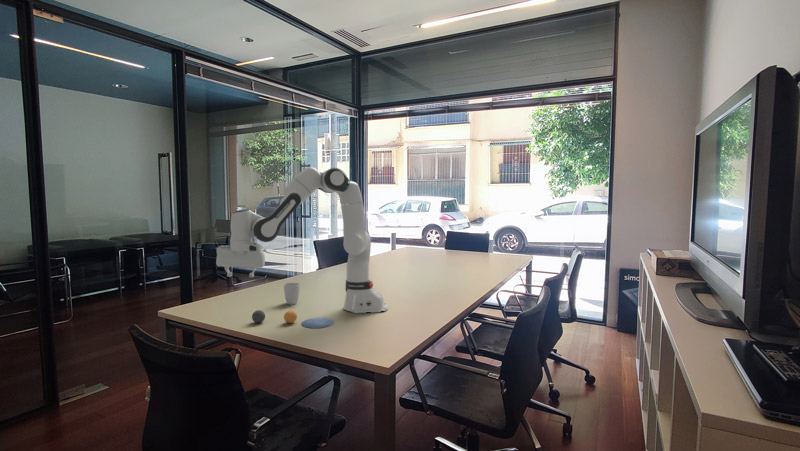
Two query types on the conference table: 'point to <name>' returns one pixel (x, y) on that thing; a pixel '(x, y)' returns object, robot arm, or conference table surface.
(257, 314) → the dark gray ball
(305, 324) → the blue mark
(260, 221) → the robot arm
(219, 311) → the conference table surface
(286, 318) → the orange ball
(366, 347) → the conference table surface
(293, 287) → the cup
